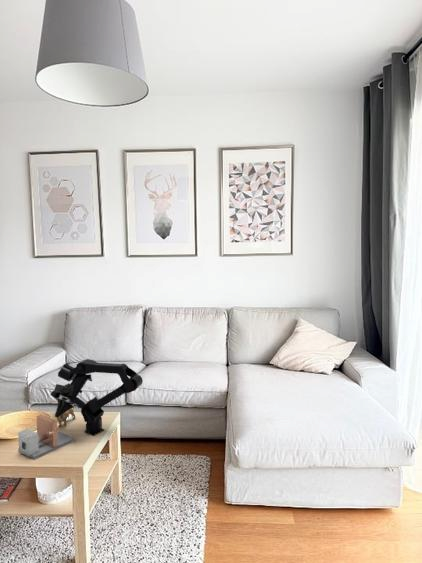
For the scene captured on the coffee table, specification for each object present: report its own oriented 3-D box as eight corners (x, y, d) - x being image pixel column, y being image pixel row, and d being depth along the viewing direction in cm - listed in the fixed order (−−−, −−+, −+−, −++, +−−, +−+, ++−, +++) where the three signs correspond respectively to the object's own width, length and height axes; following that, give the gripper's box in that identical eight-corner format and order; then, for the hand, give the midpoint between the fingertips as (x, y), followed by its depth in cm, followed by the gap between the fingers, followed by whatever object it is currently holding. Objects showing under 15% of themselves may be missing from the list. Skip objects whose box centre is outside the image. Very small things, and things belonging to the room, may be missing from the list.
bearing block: (28, 446, 158) (27, 428, 158) (38, 451, 154) (38, 433, 153) (18, 450, 155) (18, 432, 155) (29, 456, 150) (28, 437, 150)
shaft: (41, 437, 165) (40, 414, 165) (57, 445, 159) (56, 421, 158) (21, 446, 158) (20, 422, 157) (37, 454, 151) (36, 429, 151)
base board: (59, 433, 173) (58, 431, 172) (75, 440, 166) (74, 438, 166) (18, 451, 157) (18, 448, 157) (34, 459, 150) (34, 456, 150)
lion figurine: (65, 430, 176) (64, 411, 175) (54, 430, 176) (53, 411, 176) (77, 417, 191) (76, 399, 190) (67, 417, 191) (66, 399, 190)
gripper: (53, 373, 173) (31, 404, 165) (78, 380, 162) (56, 413, 154) (68, 384, 180) (48, 415, 172) (93, 392, 169) (73, 425, 161)
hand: (55, 416), depth 164 cm, fingers closed
